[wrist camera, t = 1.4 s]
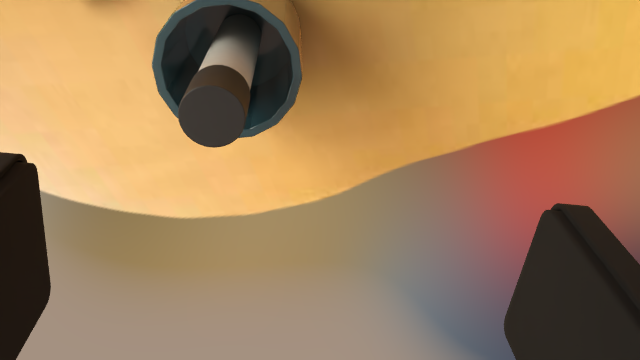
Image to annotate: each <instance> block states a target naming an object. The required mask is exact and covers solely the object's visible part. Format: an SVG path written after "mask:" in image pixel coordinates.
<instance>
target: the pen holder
mask: <svg viewBox="0 0 640 360" xmlns="http://www.w3.org/2000/svg"><path fill="white" fill-rule="evenodd" d="M236 14H241V15H246V16H248V17H250V18H251V19H253V20H254V21H255V22H256V23H257V25H258V26H259V28H260V31H261V42H260V47H259V52H258V56H257V61H256V66H255V70H254V75H253V79H252V84H251V89H250V103H249V108H248V112H247V117H246V122H245V126H244V129H243V131H242V133H241V134H240V136H239V137H238V138H242V137H252V136H255V135H257V134H259V133H261V132H263V131H265V130H267V129H269V128H271V127H273V126H274V125H276V124H278V123H279V121H280V120H281V119H282V118H283V117H284V115H285V114H286V113H287V112H288V111H289V110H290V108H291V107H292V106H293V105H294V103H295V100H296V97H297V94H298V90H299V87H300V84H301V80H302V38H301V28H300V21H299V16H298V14H297V12H296V10H295V7H294V5H293V4H292V2H291V0H183V2H182V3H181V4H180V5H179V6H178V8H177V9H176V10H175V11H174V12H173V14H172V15H171V16H170V18H169V19H168V21H167V22H166V24H165V25H164V27H163V28H162V29H161V31H160V32H159V34H158V35H157V37H156V43H155V48H154V54H153V60H152V68H153V72H154V76H155V80H156V84H157V89H158V92H159V94H160V95H161V97H162V98H163V100H164V101H165V102H166V104H167V105H168V107H169V108H170V109H171V111H172V112H173V114H174V115H175V116H176V117H177V118H178V109H179V105H180V102H181V100H182V98H183V96H184V94H185V92H186V90H187V88H188V86H189V84H190V82H191V80H192V78H193V77H194V75H195V74H196V73H197V72H198V71H199V68H200V66H201V64H202V62H203V60H204V58H205V56H206V54H207V52H208V50H209V48H210V46H211V44H212V42H213V40H214V38H215V36H216V33H217V31H218V29H219V27H220V25H221V24H222V22H223V21H224V20H225V19H226V18H228V17H229V16H232V15H236Z"/></svg>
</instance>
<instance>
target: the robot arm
mask: <svg viewBox="0 0 640 360" xmlns="http://www.w3.org/2000/svg"><path fill="white" fill-rule="evenodd" d="M50 288H51V286H50V275H49V266H48V258H47V249H46V241H45V232H44V224H43V215H42V206H41V198H40V189H39V180H38V172H37V168H36V166H35V165H34V164H33V163H27V160H26V158H25V157H24V156H23V155H22V154H13V153H2V152H0V360H16V358H17V356H18V355H19V353H20V351H21V349H22V347H23V346H24V344H25V342H26V341H27V339H28V337H29V335H30V333H31V332H32V330H33V328H34V326H35V325H36V322H37V321H38V319H39V318H40V316H41V314H42V312H43V310H44V309H45V307H46V305H47V303H48V300H49V296H50ZM504 331H505V335H506V338H507V340H508V343H509V345H510V347H511V349H512V352H513V354H514V356H515V358H516V360H640V265H639V263H638V262H637V261H636V260H635V259H634V258H633V256H632V255H631V254H630V253H629V252H628V251H627V250H626V248H625V247H624V246H623V245H622V244H621V243H620V241H619V240H618V239H617V238H616V237H615V236H614V234H613V233H612V232H611V231H610V230H609V229H608V228H607V226H606V225H605V224H604V223H603V222H602V221H601V219H600V218H599V217H598V216H597V215H596V214H595V213H594V211H593V210H592V209H590V207H588V206H580V205H570V204H559V203H558V204H555V205H554V206H553V207H552V208H551V210H546V211H544V213H543V214H542V216H541V218H540V221H539V223H538V226H537V229H536V232H535V234H534V238H533V240H532V243H531V246H530V249H529V252H528V254H527V257H526V260H525V263H524V265H523V268H522V271H521V274H520V277H519V279H518V282H517V285H516V288H515V291H514V294H513V297H512V299H511V302H510V305H509V308H508V311H507V314H506V316H505V321H504Z"/></svg>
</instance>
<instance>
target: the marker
mask: <svg viewBox="0 0 640 360" xmlns="http://www.w3.org/2000/svg"><path fill="white" fill-rule="evenodd" d="M260 42H261V31H260V28H259V26H258V25H257V23H256V22H255V21H254V20H253V19H251V18H250V17H248V16H246V15H241V14H236V15H232V16H229V17H228V18H226V19H225V20H224V21H223V22H222V24H221V25H220V27H219V29H218V31H217V33H216V36H215V38H214V40H213V42H212V44H211V46H210V48H209V50H208V52H207V54H206V56H205V58H204V60H203V62H202V64H201V66H200V68H199V71H198V72H197V73H196V74H195V75H194V77H193V78H192V80H191V82H190V84H189V86H188V88H187V90H186V92H185V94H184V96H183V98H182V100H181V102H180V105H179V109H178V119H179V123H180V126H181V128H182V129H183V131H184V132H185V134H186V135H187V136H188V137H189V138H190V139H191V140H193V141H194V142H196V143H198V144H200V145H203V146H207V147H222V146H225V145H228V144H230V143H232V142H233V141H235V140H236V139H237V138H238V137H239V136H240V134H241V133H242V131H243V129H244V126H245V122H246V117H247V112H248V108H249V103H250V89H251V84H252V79H253V75H254V70H255V66H256V61H257V56H258V52H259V47H260Z"/></svg>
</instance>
